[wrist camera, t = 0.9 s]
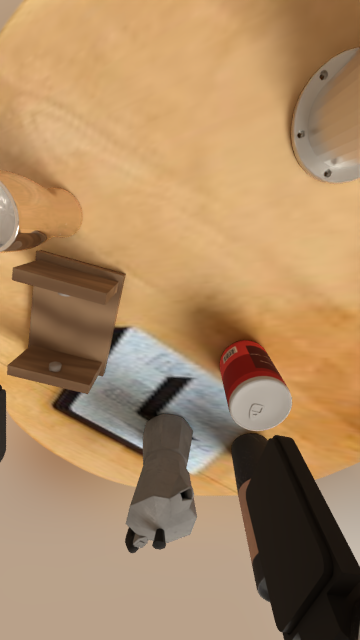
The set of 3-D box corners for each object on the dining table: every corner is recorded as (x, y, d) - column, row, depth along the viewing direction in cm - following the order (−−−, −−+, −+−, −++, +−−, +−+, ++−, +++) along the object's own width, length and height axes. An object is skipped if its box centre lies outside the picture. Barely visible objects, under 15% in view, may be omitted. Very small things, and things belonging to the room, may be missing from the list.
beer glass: (29, 229, 36) (-70, 238, 22) (37, 174, 33) (-68, 146, 19) (79, 248, 37) (15, 268, 23) (91, 196, 34) (27, 183, 20)
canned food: (217, 381, 44) (227, 431, 34) (220, 338, 41) (231, 378, 31) (263, 381, 44) (287, 432, 34) (269, 338, 41) (297, 379, 31)
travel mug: (262, 466, 51) (307, 609, 32) (224, 458, 51) (247, 600, 32) (277, 436, 48) (334, 575, 30) (236, 428, 48) (269, 564, 29)
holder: (40, 250, 37) (8, 258, 30) (125, 274, 38) (112, 287, 31) (31, 353, 43) (3, 379, 36) (104, 372, 44) (90, 400, 37)
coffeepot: (166, 396, 45) (156, 501, 29) (210, 421, 47) (224, 534, 31) (121, 450, 50) (89, 567, 34) (162, 471, 52) (151, 593, 35)
